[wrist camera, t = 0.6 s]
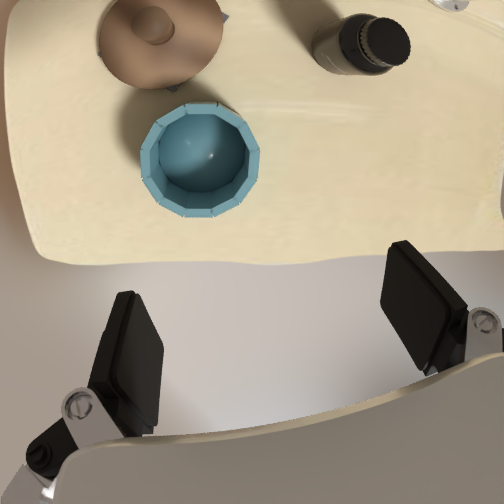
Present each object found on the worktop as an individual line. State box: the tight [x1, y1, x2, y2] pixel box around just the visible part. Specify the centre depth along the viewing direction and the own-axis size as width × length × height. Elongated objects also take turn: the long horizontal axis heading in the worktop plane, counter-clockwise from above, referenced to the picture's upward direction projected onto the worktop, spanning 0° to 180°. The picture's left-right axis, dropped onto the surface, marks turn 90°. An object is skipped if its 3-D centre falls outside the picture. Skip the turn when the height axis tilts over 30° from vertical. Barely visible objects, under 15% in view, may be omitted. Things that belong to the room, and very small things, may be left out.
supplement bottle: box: [312, 13, 411, 76], centre depth 23 cm, size 7×7×12 cm
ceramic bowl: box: [140, 101, 260, 218], centre depth 31 cm, size 12×12×6 cm
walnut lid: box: [99, 0, 223, 89], centre depth 22 cm, size 14×14×6 cm
